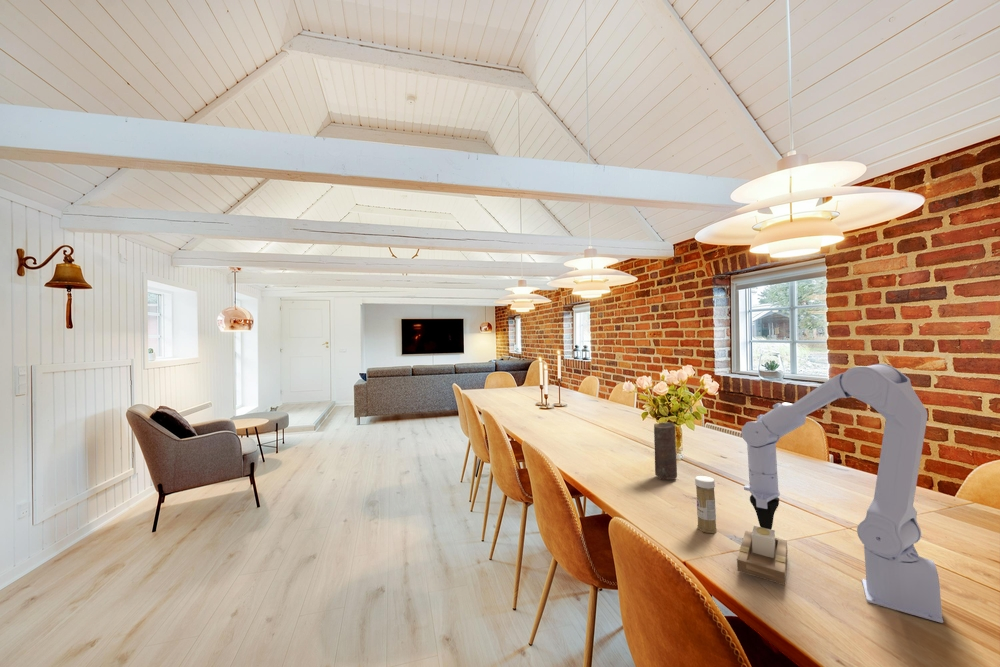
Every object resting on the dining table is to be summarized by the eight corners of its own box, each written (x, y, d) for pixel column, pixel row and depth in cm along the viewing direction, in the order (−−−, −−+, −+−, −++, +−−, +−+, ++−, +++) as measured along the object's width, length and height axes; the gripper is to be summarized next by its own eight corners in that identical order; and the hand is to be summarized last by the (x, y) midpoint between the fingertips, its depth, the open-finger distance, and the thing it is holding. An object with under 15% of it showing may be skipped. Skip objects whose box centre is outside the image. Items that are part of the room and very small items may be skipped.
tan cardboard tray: (746, 545, 91) (745, 529, 91) (787, 556, 86) (786, 539, 86) (738, 576, 79) (737, 558, 79) (785, 591, 74) (784, 571, 74)
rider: (754, 543, 88) (753, 523, 88) (775, 548, 85) (774, 528, 85) (752, 552, 84) (751, 532, 84) (774, 558, 81) (773, 537, 82)
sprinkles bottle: (693, 526, 101) (691, 475, 102) (709, 524, 102) (707, 474, 102) (704, 534, 97) (701, 481, 97) (721, 533, 97) (718, 480, 98)
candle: (681, 482, 133) (678, 425, 134) (660, 482, 133) (657, 426, 134) (671, 474, 141) (669, 421, 141) (652, 475, 141) (649, 421, 141)
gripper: (746, 460, 99) (749, 512, 98) (739, 476, 88) (742, 535, 87) (779, 465, 94) (783, 519, 94) (776, 482, 83) (780, 545, 83)
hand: (766, 528), depth 90 cm, fingers closed
